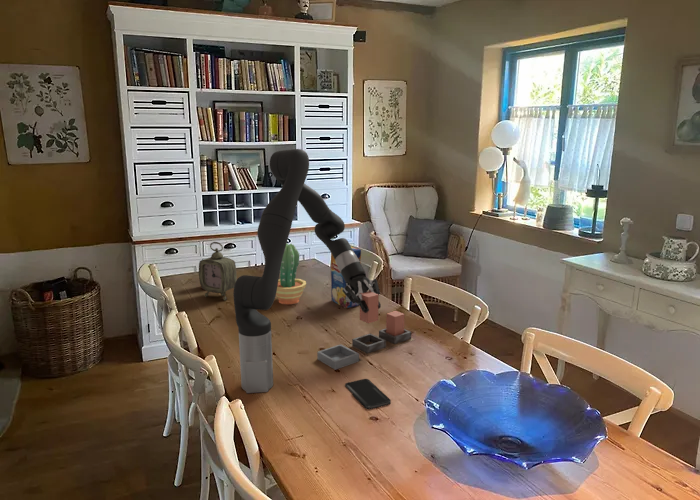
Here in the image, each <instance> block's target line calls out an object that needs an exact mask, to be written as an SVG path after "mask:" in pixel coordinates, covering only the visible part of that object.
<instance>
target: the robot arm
mask: <svg viewBox="0 0 700 500" xmlns="http://www.w3.org/2000/svg"><path fill="white" fill-rule="evenodd" d="M269 168H270V171H271V173H272V175H273V177H274V178H275V179H276V180H277V181H278V183H280V184H281V185H282V187H281V189H280V190H279V191H278V192H277V193H276V194H275V196H274V197H273V198H272V199H271V200H270V201H269V202H268V204H267V205H266V206H265V207H264V209H263V211H262V214H261V217H260V219H259V223H258V227H257V233H256V234H257V239H258V242H259V245H260V248H261V251H262V253H263V257H264V267H263V268H264V269H263V272H262V276H257V275H248V274H247V275H244V274H243V275H241V276H239V277H237V280H236V282H235V285H234V288H233V304H234V305H233V306H234V307H233V308H234V313H235V323H236V326H237V328H238V343H239V345H238V347H239V364H240V365H239V367H240V383H241V385H240V386H241V389H243V390H244V391H245V394H253V393H254V394H255V393H256V394H257V393H267V392H269V390H270V389H271V388H273V386H274V370H273V369H274V368H273V366H274V365H273V344H272V342H273V341H272V338H273V337H272V322H271V319H270V318H269V317H267V316H265V315H264V314H262V313H260V312H259V311H267V310H269V309H271V307H272V306H273V305H274V302H275V299H276V297H277V296H276V292H277V286H278V280H279V279H280V268H281V263H282V259H283V255H284V251H285V247H286V244H288V243H287V242H288V240H289V236H290V233H291V228H292V225H293V221H294V215H295V212H296V208H297V205H298V203H300V205H301V206H302V207H303V209H304V210H305V212H306V214H307V215H308V217H309V218H310V219H311V220H312V221H313V223H316V225H314V233H315V236H317V238H318V239H319V240H320V241H321V242H322V243H323V244H324V245H325V247H326V248H328V250H329V252H330V253H332V255H333V257H334V259H335V261H336V264H337V266H338V268H339V270H340V272H341V274H342V276H343V278H344V280H345V282H346V283H347V284H348V286H345V288H344V289H343V290H342V291H343V292H344V293H345V295H346V296H347V297H348V298H349V299H350V301H351V302H352V303H358V304H359V308H360V307H361V309H362V311H363V312H364V313H367V312H368V311H369V308H368V306H367V304H366V303H365V301H363V296H362V294H363V293H365V292H373V293H376V294H378V295H380V294H381V291H380V290H381V289H380V288H379V283H378V280H377V279H376V278H375V279H373V280H372V279H369V278H368V277H367V274H366V270H365V269H364V266H363V265H362V262H361V263H360V261H359V259H358V257H357V256H356V254H355V253H354V252H353V250H352V248H351V244H350V243H349V241H348V240H347V238H345V237H342V238H337V239H333V238H335V237H338V235H340V234H342V233H343V232H344V230H345V228H346V227H345V222H344V220H343V219H342V217H340V216H339V215H338V214H336V213H335V212H334V211H332V210H331V209H330V207H329V206H328V204H327V203H326V201H325V199H324V198H323V196H321V194H320V193H319V192H317V191H316V190H315V189H313V188H311V186H309V185H307V184H306V183H305V181H306V179H307V176H308V174H309V173H308V172H309V169H310V159H309V155H308V153H307V152H306V151H305V150H304V149H301V148H300V149H299V148H294V149H293V148H291V149H283V150H278V151H277V150H276V151H274V152H273V153H272V154H271V156H270V158H269ZM353 291H354V292H353ZM381 307H382V306H381V302H380V301H379V303H378V310H379V309H381Z"/></svg>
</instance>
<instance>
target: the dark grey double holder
mask: <svg viewBox="0 0 700 500" xmlns="http://www.w3.org/2000/svg"><path fill="white" fill-rule="evenodd" d="M415 340H416V339H415V338H413V337H412V331H410V330H407V329H406V328H404V333H403V334H400V335H397V336H393V335H391V334H388V333H386V328H383V329H380V330H379V331H378V335H376V334H375V335H374V334H372V333H368V334H363V335H361V336H358V337H355V338H352V340H351V341H352V342H351V343H350V344H348V346H349V347H352V348H353V349H355V350H357V351H359V352H361V353H363V354H365V355H367V356H368V357H370V356H372V355H375V354H379V353H381V352H384V351H387V350H391V349H393V348H395V347H398V346H401V345H404V344H407V343H411V342H412V341H413V342H414V341H415Z"/></svg>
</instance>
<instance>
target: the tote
mask: <svg viewBox="0 0 700 500" xmlns="http://www.w3.org/2000/svg"><path fill="white" fill-rule="evenodd" d="M317 360H318V361H319V362H320V363H323V364H324V365H326V366H329V367H330V368H331V369H333V370H335V371H336V370H339V369H341V368H344V367H347V366H350V365H352V364H355V363H358V362H360V353H359V352H356V351H355V350H353V349H351V348H349V347H347V346H346V345H343V344H342V343H341V344H337V345H334V346H331V347H328V348H325V349H321V350H319V351H317Z"/></svg>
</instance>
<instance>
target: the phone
mask: <svg viewBox="0 0 700 500" xmlns="http://www.w3.org/2000/svg"><path fill="white" fill-rule="evenodd" d="M344 386H345V388H347V389H348V391H349V392H350V393H351V395H352V396H353V397H354V399H356V400H357V401H358V403H359V404H360V405H361V406H362V405H363V406H364V407H363V406H362V407H363V408H366V410H373V408H374V409H377V407H378V408H381V406H382V407H384V406H385V405H386V406H389V405H391V401H392V400H391V399H390V398H389V397H388V396H387V395H386V394H385V393H384V392H383V391H382V390H381V389H379V388H378V386H376V385H375V384H374V383H373V382H372V381H371V380H370V379H369V378H362V379H358V380H353V381H349V382H346V383H344ZM388 404H389V405H388Z"/></svg>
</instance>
